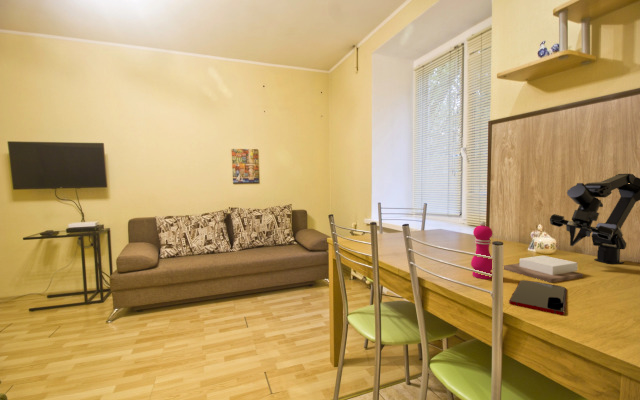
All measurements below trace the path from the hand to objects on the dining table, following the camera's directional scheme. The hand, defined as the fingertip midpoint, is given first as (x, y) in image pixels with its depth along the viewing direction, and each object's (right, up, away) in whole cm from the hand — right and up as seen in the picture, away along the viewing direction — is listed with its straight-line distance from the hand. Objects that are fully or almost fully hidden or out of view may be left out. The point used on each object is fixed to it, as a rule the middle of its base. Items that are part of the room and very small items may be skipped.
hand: (571, 245), depth 116 cm
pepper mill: (-39, -10, -8) cm, 41 cm away
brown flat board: (-16, -9, -5) cm, 19 cm away
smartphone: (-32, -12, -27) cm, 44 cm away
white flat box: (-6, -6, -2) cm, 9 cm away
